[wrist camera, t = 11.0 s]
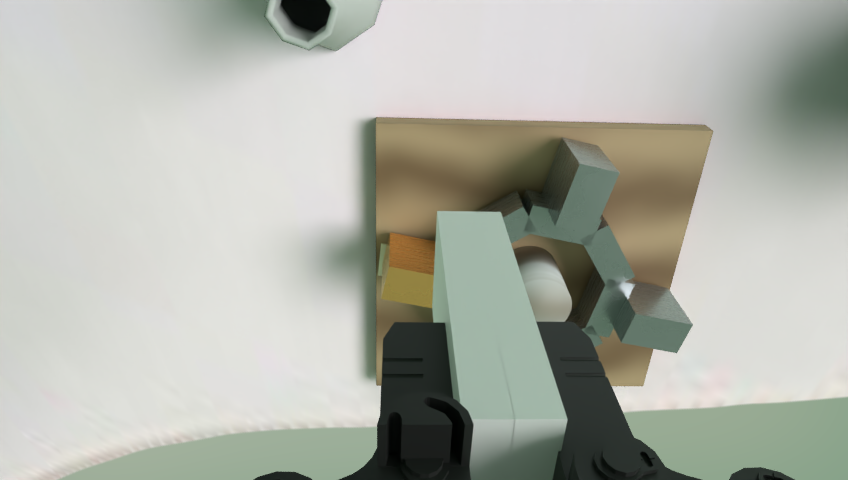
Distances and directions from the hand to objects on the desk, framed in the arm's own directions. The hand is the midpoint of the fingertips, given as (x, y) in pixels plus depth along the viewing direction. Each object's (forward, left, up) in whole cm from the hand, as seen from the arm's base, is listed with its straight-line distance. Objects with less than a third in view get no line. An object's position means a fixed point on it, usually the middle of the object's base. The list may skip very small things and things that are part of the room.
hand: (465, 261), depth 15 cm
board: (+16, +8, -26) cm, 32 cm away
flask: (-3, -6, -27) cm, 28 cm away
